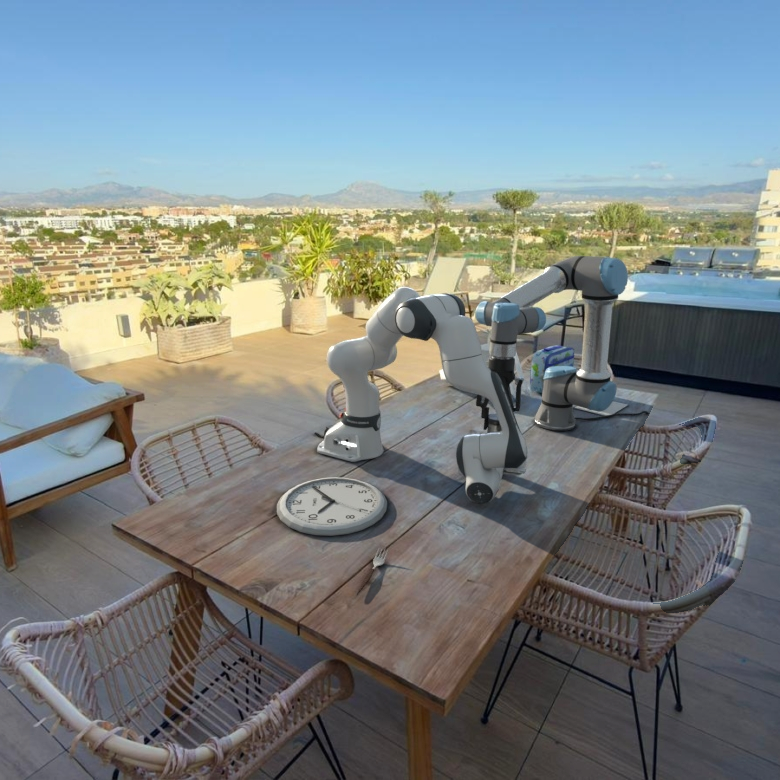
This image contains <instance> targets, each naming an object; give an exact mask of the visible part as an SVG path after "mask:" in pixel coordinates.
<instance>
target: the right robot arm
mask: <svg viewBox="0 0 780 780" xmlns="http://www.w3.org/2000/svg"><path fill="white" fill-rule="evenodd" d="M628 280H629V273H628V269H627V266H626V264H625V263H624V261H623V260H622V259H619V258H617V257H616V258H615V257H610V256H588V255H575V256H571V257H568V258H565V259H561V260H559V261H557V262H555V263H553V264H552V265H550V266H548V267H546V268H545V269H544V270H543V272H542V273H541V274H540V275H538V276H536V277H535V278H533V279H531V280H529V281H528V282H526V283H524V284H522V285H520V286H518V287H517V288H515V289H513V290H511V291H510V292H508V293H506V294H505V295H503V296H501V297H500V298H497V299H495V300H494V301H490V300H487V301H486V300H485V301H481V302H479V304H477V307H476V309H475V312H474V314H475V319H476V321H477V322H478V324H481V325H482V326H483V325H484V326H486V327H491V329H490V341H489V345H490V352H489V354H490V355H491V356H490V357H489V365H488V368H489V369H490V370H491V371H493V372H496V373H497V374H498V375H499V377H500V379H501V381H502V383H503V385H504V388H505V390H506V393H507V396H508V398H509V401H510V404H511V407H512V410H513V412H514V413H515V412H516V413H517V412H519V411H520V410H521V407H522V406H521V405H522V404H521V403H522V386H521V385H522V383H523V381H524V379H523V378H519V376H516V373H515V358H514V356H515V354H516V352H517V342H518V341H517V340H518V336H519V335H524V334H534V333H536V332H539V331H542V330H543V329H544V328H545V325H546V322H547V314H546V313H545V311H544V310H543V309H542V308H541V307H538V306H534V305H536V304H538V303H539V302H542V300H544V299H546V298H547V297H549V296H551V295H553V294H559V293H561V292H563V291H567V290H568V291H569V290H571V291H572V290H573V291H581V299H582V300H583V302H585V307H584V308H585V310H584V312H585V313H584V321H583V337H582V338H583V339H582V347H581V348H582V351H581V363H580V368H579V369H578V368H577V367H576V366H573V367H572V366H554V367H550V368H547V369H546V371H545V374H544V378H543V379H544V382H543V391H542V393H541V402H540V405H539V407H538V409H537V410H536V413H535V416H534V424H535V425H536V426H537V427H539V428H542V429H544V430H549V431H556V432H567V431H572V430H574V429H575V428H576V420H577V421H578V420H579V421H594V420H601V419H607V418H611V417H616V416H617V417H618V416H640V415H642V414H646V415H650V413H649V412H648V411H647V410H642V411H640V412H633V413H631V412H630V413H628V412H627V413H626V412H625V413H624V412H621V413H619V412H617V413H614V414H612V415H607V416H604V415H600V416H595V417H576V416H575V413H574V407H573V405H574V406H580V407H583V408H586V409H589V410H594V411H598V412H601V411H604V410H605V409H607V408H608V407H609V406H610V404H611V403H612V401H614V400H615V398H616V394H617V389H618V387H617V384H616V382H614V381H613V380H611V379H612V378H611V375H612V374H611V372H610V371H609V370H608V358H609V349H610V338H611V328H612V316H613V307H614V305H613V304H614V303H615V302H616V301H617V300H618V299H619V296H620V295H621V294H623V293H624V291H625V290H626V286H627V285H628V282H629V281H628ZM512 381H513V382H514V384H515V385H516V387H515V391H516V399H515V404H514V401H513V395H512V394H511V391H510V385H509V384H510V383H511V382H512ZM489 402H490V400H489V399H487V398H486V397H484V400H483V396H481V395H478V394H476V401H475V406H476V407H479V408H480V409H481V413H480V414H481V415H480V417H481V419H483V430H484V431H487V430H488V422H487V418H488V415H489V414H490V407H489V406H488V405H489ZM514 405H515V406H514Z"/></svg>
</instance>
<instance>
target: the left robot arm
mask: <svg viewBox="0 0 780 780" xmlns="http://www.w3.org/2000/svg"><path fill="white" fill-rule="evenodd" d="M365 333H366V335H364V336H362V337H359V338H353V339H346V340H342V341H340V342H338V343H336V344H333V345H331V346H330V347H329V348H328V349H327V353H326V364H327V367H328V369H329V370H330V371H331V372H332V373H333V374H334V375H336V376H337V377H338V378H339V379H340V381H341V384H342V385H343V389H344V393H345V394H344V395H345V408H344V409H343V411H341V412H340V414H339V417H338V419H340V421H338V422H337V423H334V424H331V425H327V426H326V427H325V429H324V432H323V435H321V434H320V433H318V432H314V435H315V436H317V437H318V438H321V439H323V440H322V441H321V442H320V443H319V444H318V445H317V449H316V451H317V453H318V454H321V455H325V456H328V457H333V458H336V459H339V460H343V461H347V462H351V463H357V462H360V461H363V460H371V459H375V458H379V457H380V456H382V455H383V453H384V452H385V450H384V446H383V442H382V438H381V436H382V435H381V426H382V425H381V424H382V417H381V410H380V389H379V388H378V386H377V385H375V384H374V383H373V382H370V381H369V376H368V373H369V372H372V371H377V370H379V369H383V368H386V367H387V366H390V365H391V364H393V363H394V362H395V361H396V359H397V356H398V348H397V344H398V342H399V341H400V340H401V339H402V338H403V336H404V337H406V338H409V339H414V340H421V341H424V342H427V341H429V340H430V339H432V340H434V341H435V342H436V344H437V346H438V349H439V350H438V351H439V356H440V361H441V367H442V369H443V372H444V375H445V378H446V380H447V381H448V382H449V383H450V386H452V387H453V388H455V389H457V390H460V391H462V392H465V393H470V394H475V395H477V394H478V395H481V396H482V397H484V398H485V397H486V398H487V399H489V402H490V403H491V404H492V406H493V409H494V411H495V414H497V417H498V420H499V422H500V425H501V428H502V431H500V432H492V433H487V432H483V433H482V432H479V433H472V434H471V433H470V434H464V435H463V436H462V437H461V438H460V440H459V442H458V444H457V446H456V450H455V451H456V452H455V457H456V465H457V468H458V469H457V470H458V474H459V475H461V476H462V477H465V494H466V497H467V498H468V499H469V500H470V501H471V502H473V503H476V504H479V505H481V504H483V505H484V504H489V503H490V502H491V501H493V500H494V499H495V497H496V496H497V494H498V492H499V489H500V487H501V481H502V479H503V475H510V476H521V475H523V474H526V472H527V471H526V470H527V468H526V467H527V459H528V445H527V442H526V439H525V438H524V436H523V434H522V431H521V429H520V427H519V424H518V422H517V419H516V416H515V412H513V410H512V407H511V404H510V401H509V398H508V396H507V393H506V390H505V388H504V385H503V383H502V381H501V379H500V377H499V375H498V374H497V373H496V372H493V371H491V370H490V369H489V368H488V366H487V365H486V363H485V361H484V358H483V354H482V349H481V345H482V344H481V340H480V337H479V334H478V330H477V328H476V325H475V323H474V321H473V319H471V318H470V317H468V316H466V306H465V304H464V302H463V300H462V299H461V298H460V297H459V296H457V295H455V294H453V293H446V292H445V293H434V294H426V295H422V296H421V295H420V294H419V293H418V292H417V291H416V290H415V289H413V288H411V287H408V286H400V287H398V288H396V289H395V290H393V292H391V293H390V294H389V295H388V296H387V297H386V298H385V299H384V300H383V301H381V303H380V305H379V306H378V307H377V308H376V310H375V311H374V312H373V314H372V315H371V316H370V317H369V318H368V320H367V321H366V323H365Z"/></svg>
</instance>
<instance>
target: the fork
mask: <svg viewBox="0 0 780 780" xmlns="http://www.w3.org/2000/svg"><path fill="white" fill-rule="evenodd" d="M380 547H381V545H379V546H378V549H377V551H376V554H375V557H374V558H373V561H372V563H373V567H372V568H371V569H370V570H369V571H368V573H367V574H366V575H365V576H364V578H363V580H362V582H361V584H360V586H359V589H357V592H356V596H359V594H360V593H361V591H362V590H363V589H364V587H365V586H367V584H368V583H369V581H370V580H371V579H372V576H373V574H374V571H375V569H376V568H377V567H379V566H382V565H384V564H385V562H386V559H387V556H388V552H389V549H387V550H386V548H387V546H385V547H383V546H382V548H381V550H380ZM383 548H384V550H383ZM379 551H380V552H379ZM382 551H383V552H382ZM385 551H386V552H385Z"/></svg>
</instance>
